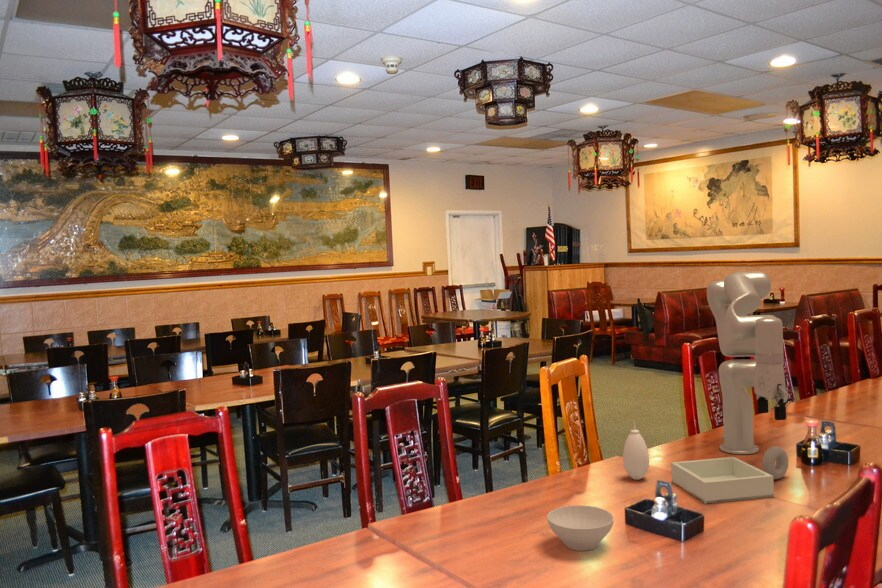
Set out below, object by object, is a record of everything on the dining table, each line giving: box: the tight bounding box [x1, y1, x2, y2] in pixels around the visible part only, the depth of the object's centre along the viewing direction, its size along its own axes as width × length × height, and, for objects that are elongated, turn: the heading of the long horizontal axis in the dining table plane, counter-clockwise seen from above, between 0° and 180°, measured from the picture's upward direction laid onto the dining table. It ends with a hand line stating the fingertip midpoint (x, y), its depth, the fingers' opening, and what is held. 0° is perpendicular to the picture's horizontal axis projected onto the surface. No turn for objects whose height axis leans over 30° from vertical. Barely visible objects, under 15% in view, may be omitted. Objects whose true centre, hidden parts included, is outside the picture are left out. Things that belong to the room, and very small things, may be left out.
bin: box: [670, 456, 775, 505], centre depth 205 cm, size 20×20×6 cm
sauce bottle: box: [622, 421, 650, 481], centre depth 219 cm, size 8×8×18 cm
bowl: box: [546, 504, 615, 552], centre depth 171 cm, size 16×16×7 cm
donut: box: [761, 445, 789, 480], centre depth 212 cm, size 10×4×10 cm, turn 119°
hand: (771, 416), depth 209 cm, fingers open, 9 cm apart
